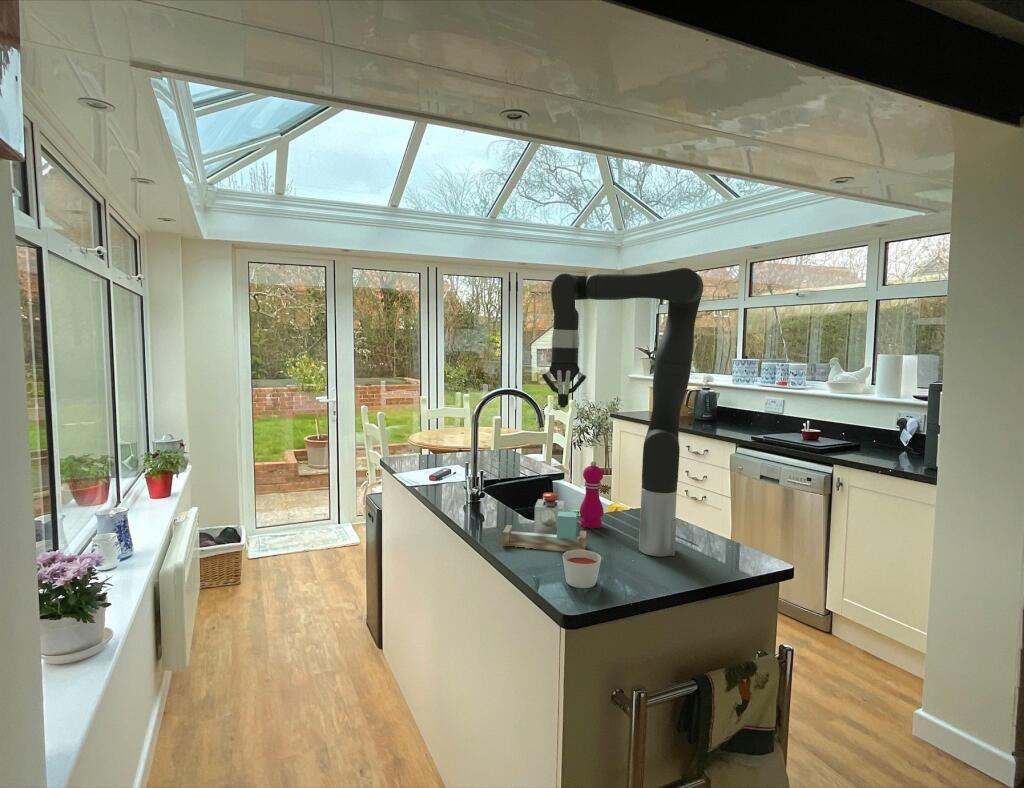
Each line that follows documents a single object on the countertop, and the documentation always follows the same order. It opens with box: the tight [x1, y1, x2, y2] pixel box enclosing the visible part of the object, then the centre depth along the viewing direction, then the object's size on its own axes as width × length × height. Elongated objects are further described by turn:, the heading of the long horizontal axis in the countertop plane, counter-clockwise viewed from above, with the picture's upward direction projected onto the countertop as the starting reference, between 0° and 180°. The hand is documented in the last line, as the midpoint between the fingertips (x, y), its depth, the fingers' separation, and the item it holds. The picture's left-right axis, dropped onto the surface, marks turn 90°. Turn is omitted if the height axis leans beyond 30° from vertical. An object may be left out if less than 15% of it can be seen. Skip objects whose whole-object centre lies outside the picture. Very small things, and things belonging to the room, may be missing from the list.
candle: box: [562, 549, 602, 589], centre depth 141 cm, size 9×9×6 cm
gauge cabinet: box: [533, 498, 566, 535], centre depth 177 cm, size 8×8×8 cm
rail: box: [502, 524, 587, 552], centre depth 165 cm, size 22×6×4 cm, turn 81°
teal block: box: [557, 511, 578, 539], centre depth 163 cm, size 5×4×6 cm
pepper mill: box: [579, 460, 604, 529], centre depth 182 cm, size 7×7×20 cm
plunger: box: [542, 492, 559, 506], centre depth 177 cm, size 4×4×9 cm
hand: (563, 407), depth 171 cm, fingers closed
